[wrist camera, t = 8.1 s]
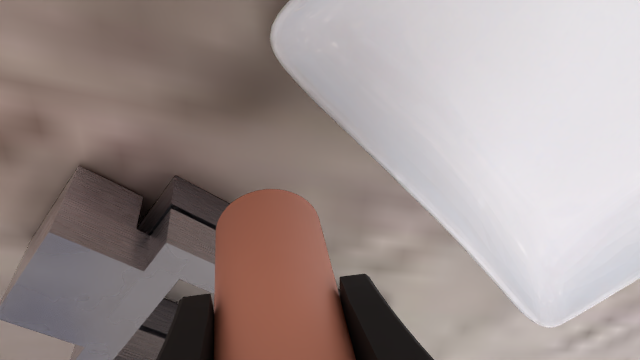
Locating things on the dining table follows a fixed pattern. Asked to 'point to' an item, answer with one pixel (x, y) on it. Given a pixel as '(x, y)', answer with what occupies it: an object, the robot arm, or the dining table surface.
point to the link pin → (275, 283)
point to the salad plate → (494, 127)
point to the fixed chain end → (194, 206)
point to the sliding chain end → (104, 270)
